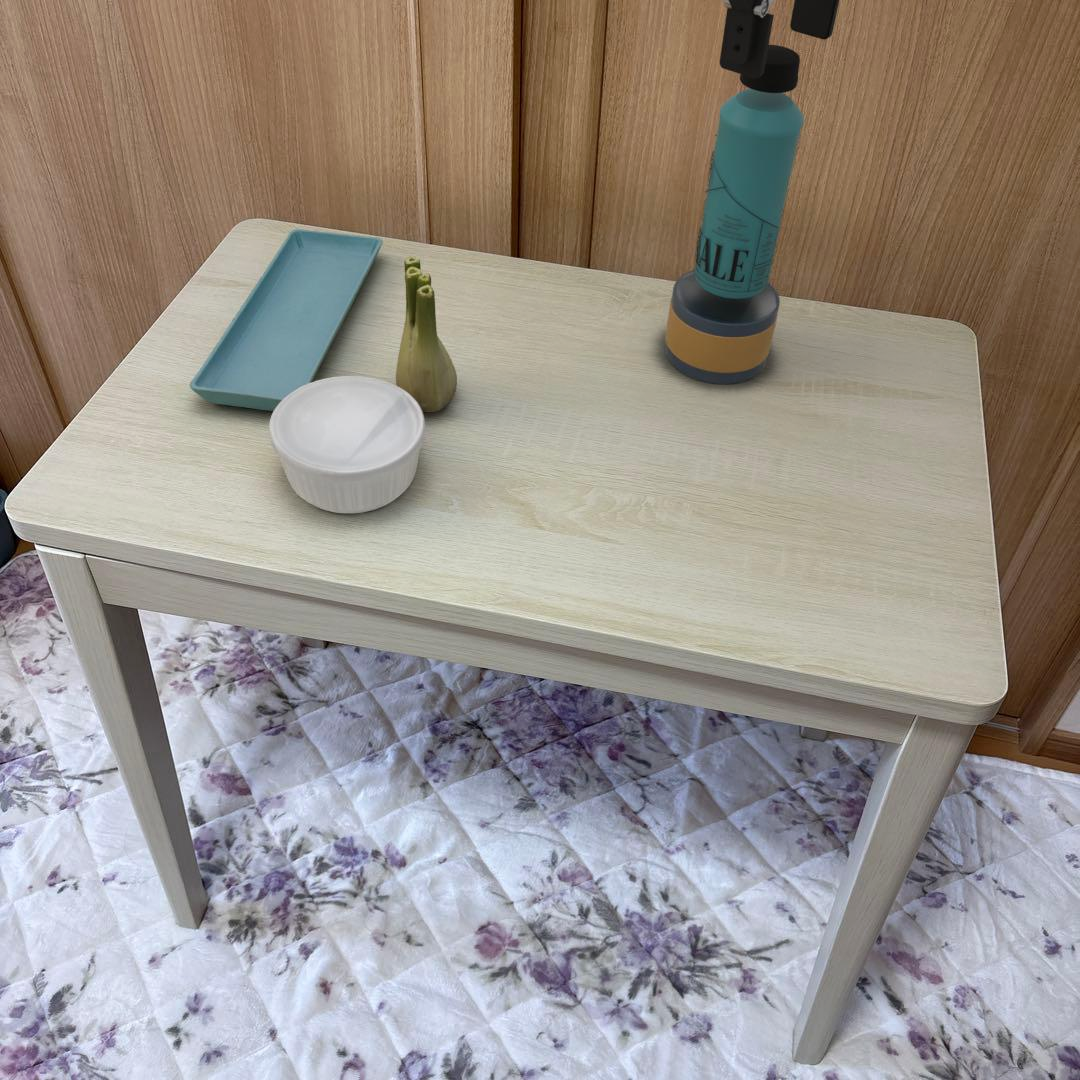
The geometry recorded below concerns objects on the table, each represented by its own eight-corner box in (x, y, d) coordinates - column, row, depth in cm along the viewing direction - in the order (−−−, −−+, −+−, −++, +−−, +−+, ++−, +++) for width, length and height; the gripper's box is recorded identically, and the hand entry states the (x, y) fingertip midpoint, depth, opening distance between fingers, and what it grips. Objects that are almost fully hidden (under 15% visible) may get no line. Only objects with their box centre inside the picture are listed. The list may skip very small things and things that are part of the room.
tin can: (735, 316, 98) (747, 258, 93) (786, 373, 92) (801, 314, 87) (646, 334, 95) (654, 275, 91) (692, 393, 89) (703, 333, 85)
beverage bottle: (764, 277, 91) (816, 36, 77) (768, 320, 87) (824, 73, 72) (688, 270, 92) (726, 29, 77) (688, 313, 87) (729, 65, 73)
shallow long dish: (294, 246, 103) (291, 223, 101) (385, 257, 102) (384, 234, 101) (192, 411, 85) (186, 387, 83) (302, 426, 84) (299, 401, 82)
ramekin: (433, 520, 77) (430, 466, 74) (277, 532, 76) (266, 478, 72) (421, 423, 85) (418, 370, 81) (279, 432, 83) (270, 378, 80)
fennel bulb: (407, 375, 89) (398, 248, 81) (463, 382, 89) (461, 255, 80) (389, 418, 85) (379, 289, 77) (449, 425, 85) (445, 297, 76)
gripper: (817, -218, 56) (760, 104, 68) (950, -254, 66) (879, 33, 78) (698, -238, 59) (664, 73, 71) (841, -269, 69) (790, 9, 81)
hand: (776, 52), depth 75 cm, fingers open, 9 cm apart
